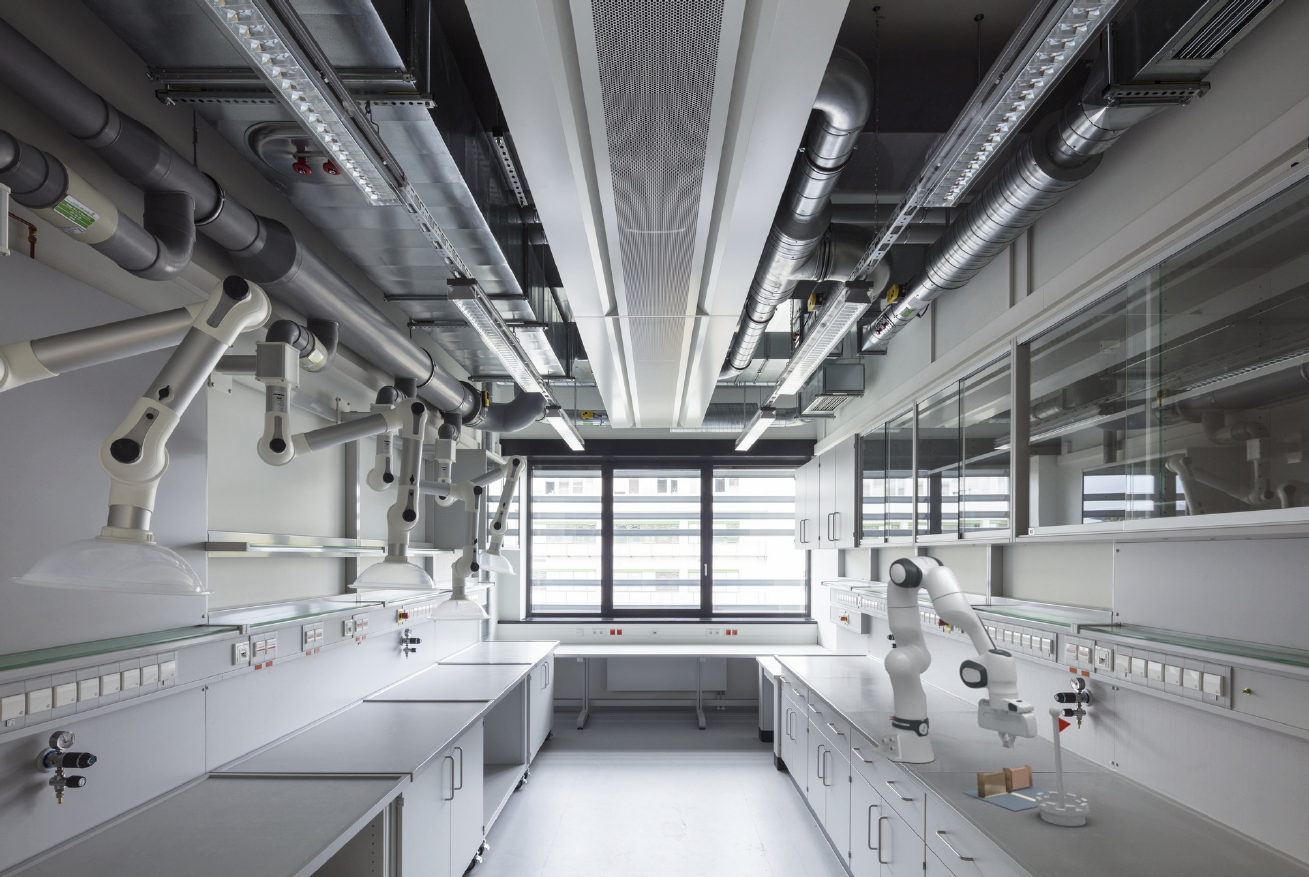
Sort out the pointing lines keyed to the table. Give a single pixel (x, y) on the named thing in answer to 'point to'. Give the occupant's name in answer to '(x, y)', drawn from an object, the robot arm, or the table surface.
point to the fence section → (1021, 777)
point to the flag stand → (1061, 788)
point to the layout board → (1012, 798)
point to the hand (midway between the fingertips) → (1008, 747)
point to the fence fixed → (994, 783)
